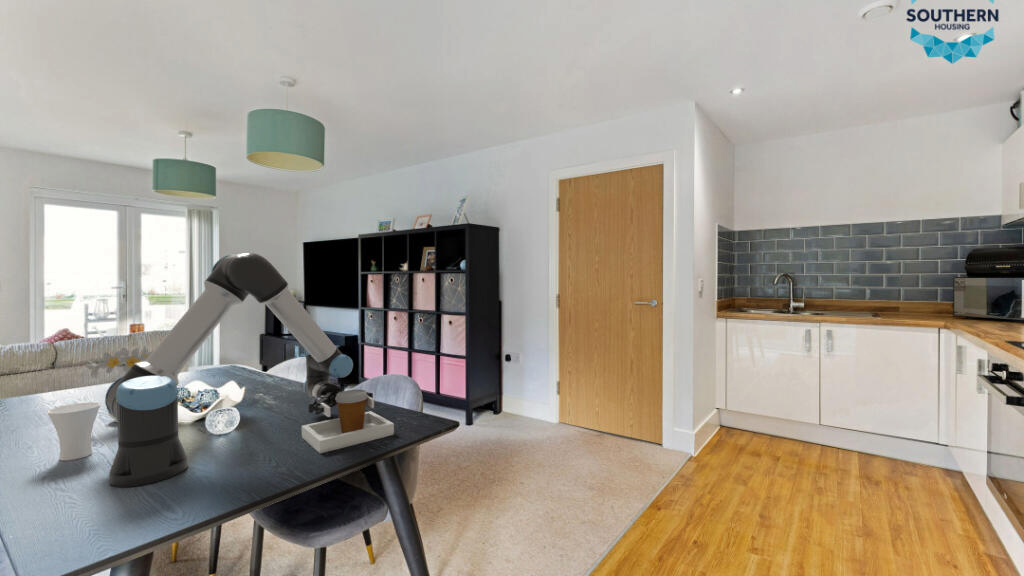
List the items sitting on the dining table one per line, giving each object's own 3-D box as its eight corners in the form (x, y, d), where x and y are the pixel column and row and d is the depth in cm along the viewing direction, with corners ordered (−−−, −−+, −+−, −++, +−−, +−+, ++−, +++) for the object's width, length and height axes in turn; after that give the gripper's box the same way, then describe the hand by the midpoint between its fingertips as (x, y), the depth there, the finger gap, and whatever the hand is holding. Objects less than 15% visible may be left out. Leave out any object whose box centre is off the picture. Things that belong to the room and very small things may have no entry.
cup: (51, 455, 123) (50, 407, 123) (103, 446, 130) (101, 400, 129) (45, 467, 115) (43, 415, 115) (100, 456, 122) (99, 407, 121)
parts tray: (320, 453, 123) (319, 440, 123) (301, 437, 136) (301, 425, 136) (393, 434, 137) (393, 423, 137) (371, 421, 150) (370, 411, 150)
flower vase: (80, 426, 147) (77, 351, 146) (144, 411, 164) (142, 343, 163) (102, 431, 142) (100, 353, 141) (166, 415, 159) (164, 345, 158)
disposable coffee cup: (363, 435, 133) (362, 395, 133) (331, 437, 133) (330, 397, 133) (372, 425, 143) (371, 388, 143) (342, 427, 142) (341, 389, 142)
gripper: (363, 398, 158) (390, 411, 142) (288, 412, 142) (308, 429, 126) (363, 377, 158) (389, 388, 142) (287, 389, 142) (308, 403, 125)
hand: (351, 407), depth 134 cm, fingers open, 13 cm apart
